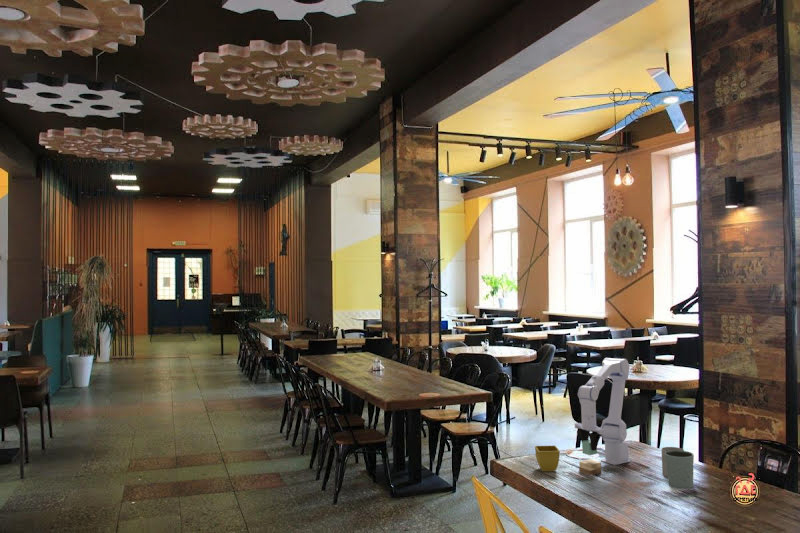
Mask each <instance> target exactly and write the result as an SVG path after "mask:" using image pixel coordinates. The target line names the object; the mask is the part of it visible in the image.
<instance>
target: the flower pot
mask: <svg viewBox="0 0 800 533" xmlns="http://www.w3.org/2000/svg"><path fill="white" fill-rule="evenodd" d="M534 449H535V458H536V463H537V464H538V466H539V468H540V470H541V471H542V472H556V470H557V469H558V465H559V462H560V453H561V452H560V449H559V448H558V447H557V446H556V445H535V446H534Z"/></svg>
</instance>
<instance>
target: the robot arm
mask: <svg viewBox="0 0 800 533" xmlns="http://www.w3.org/2000/svg"><path fill="white" fill-rule="evenodd" d="M629 373H630V364H629V362H628V359H627V358H615V357H613V358H611V357H605V358H604V359H603V360H602V362H601V368H600V370H599V371H598V373H597V374H593V375H592V376H591V378H590V379H589V380H588V381H587V382H586V383H585V384H584V385H581V386H579V388H578V391H577V397H578V399H579V404H580V410H581V413H580V414H581V415H580V416H581V422H575V423H574V429H579V430H576V433H577V435H578V437H579V438H580V441H581V442H582V441H584V440H590V441H591V449H592V451H594V450H597V451H598V444H599V441H600V439H602V441H604V456H605V458H603V459H601V460H600V462H604V463H607V464H611V465H614V466H617V465H621V464H625V463H626V464H627V463H631V460H630V459H629V445H628V443H627V442H626V439H627V435H628V433H627V423H625V421H624V420H623V419H622V410H623V403H624V394H625V386H626V381H627V380H628V379H629ZM607 378H610V379H611V380H612V384H611V385H612V386H611V393H610V400H609V408H608V409H609V410H608V416H607V417H606V418H604V419H603V420H602V423H601V426H600V427H599V426H598V425H597V408H596V405H597V402H596V401H597V400H598V398H599V394H600V391H601V389H603V387H604V386H605V381H606V379H607Z"/></svg>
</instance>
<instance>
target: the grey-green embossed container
mask: <svg viewBox="0 0 800 533" xmlns="http://www.w3.org/2000/svg"><path fill="white" fill-rule="evenodd" d="M694 455H695V454H694V453H693V452H690V451H687V450H684V451H681V450H671V451H666V452H665V460H666V467H667V474H668V477H667V482H668V485H669V486H670V487H671V488H675V489H679V490H687V489H692V488H694V461H695V460H694V459H695V456H694Z"/></svg>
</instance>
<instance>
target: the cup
mask: <svg viewBox="0 0 800 533" xmlns="http://www.w3.org/2000/svg"><path fill="white" fill-rule="evenodd" d="M671 450H681V451H685V450H684V449H683V448H681V447H675V446H664V447H661V468H662V469H661V470H662V472H661V473H662V476H664V477H667V478H668V474H667V467H666V460H665V452H666V451H671Z"/></svg>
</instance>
